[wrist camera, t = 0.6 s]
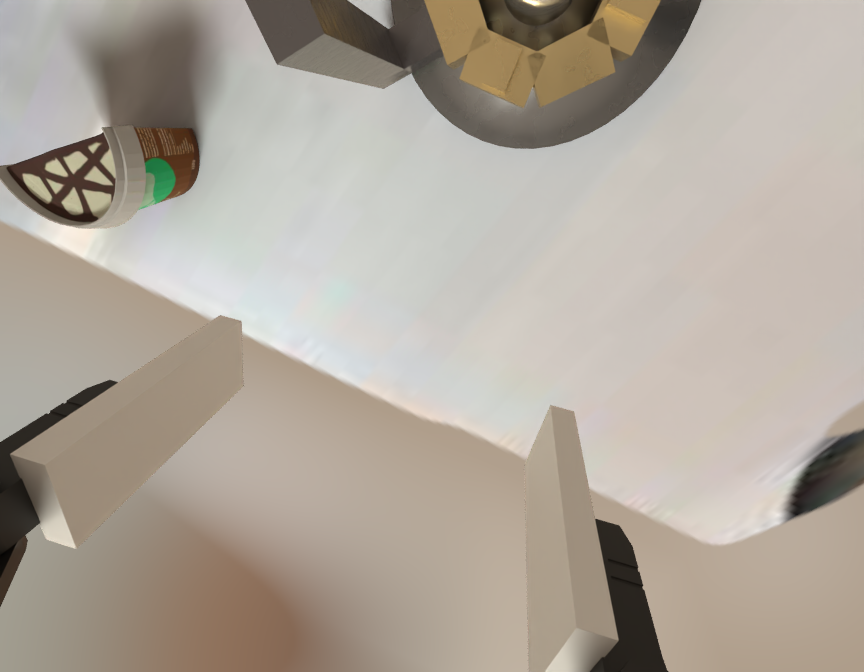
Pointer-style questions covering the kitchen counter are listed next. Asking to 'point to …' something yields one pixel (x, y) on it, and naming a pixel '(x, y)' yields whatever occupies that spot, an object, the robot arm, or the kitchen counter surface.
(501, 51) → the geared hub with post
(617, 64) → the flange
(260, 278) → the kitchen counter surface
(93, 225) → the food container
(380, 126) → the kitchen counter surface
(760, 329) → the kitchen counter surface
